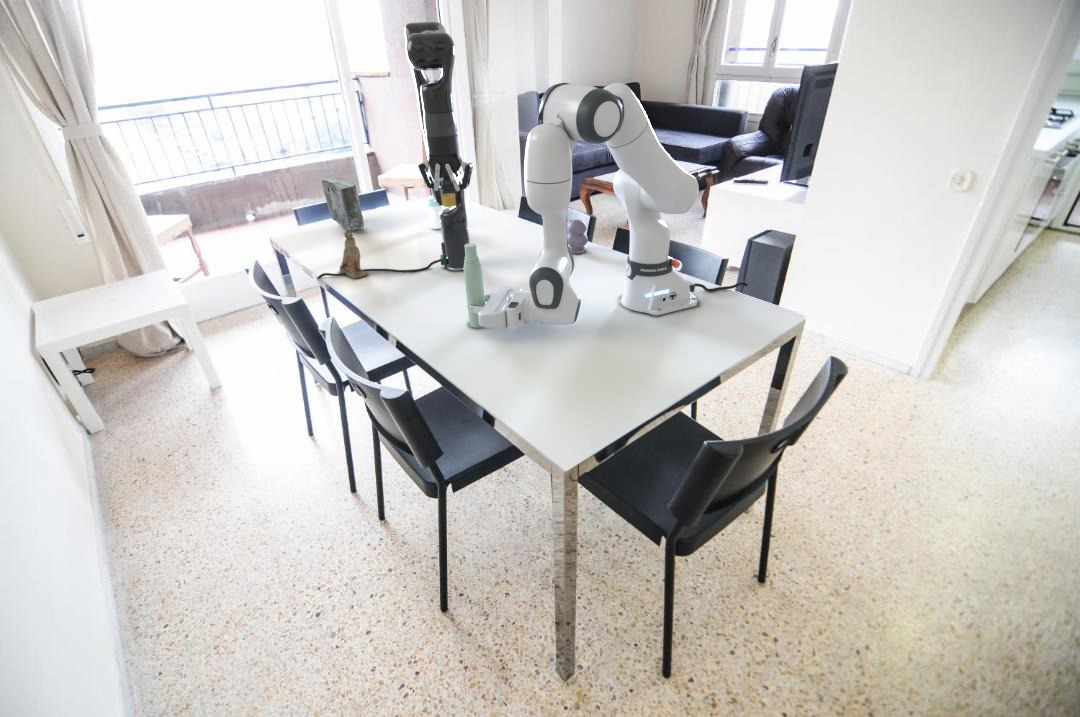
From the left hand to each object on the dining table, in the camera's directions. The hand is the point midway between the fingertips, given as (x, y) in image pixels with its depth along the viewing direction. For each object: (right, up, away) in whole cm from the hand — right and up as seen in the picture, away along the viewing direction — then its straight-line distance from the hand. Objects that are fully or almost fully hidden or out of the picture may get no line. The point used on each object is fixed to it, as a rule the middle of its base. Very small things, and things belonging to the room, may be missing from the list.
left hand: (450, 204), depth 128 cm
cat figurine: (+37, +2, +63) cm, 73 cm away
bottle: (+5, -30, +14) cm, 33 cm away
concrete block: (-64, +21, +101) cm, 121 cm away
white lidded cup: (-23, +19, +96) cm, 100 cm away
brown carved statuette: (-44, -9, +51) cm, 68 cm away
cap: (0, +2, -1) cm, 2 cm away
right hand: (+4, -24, +11) cm, 27 cm away
